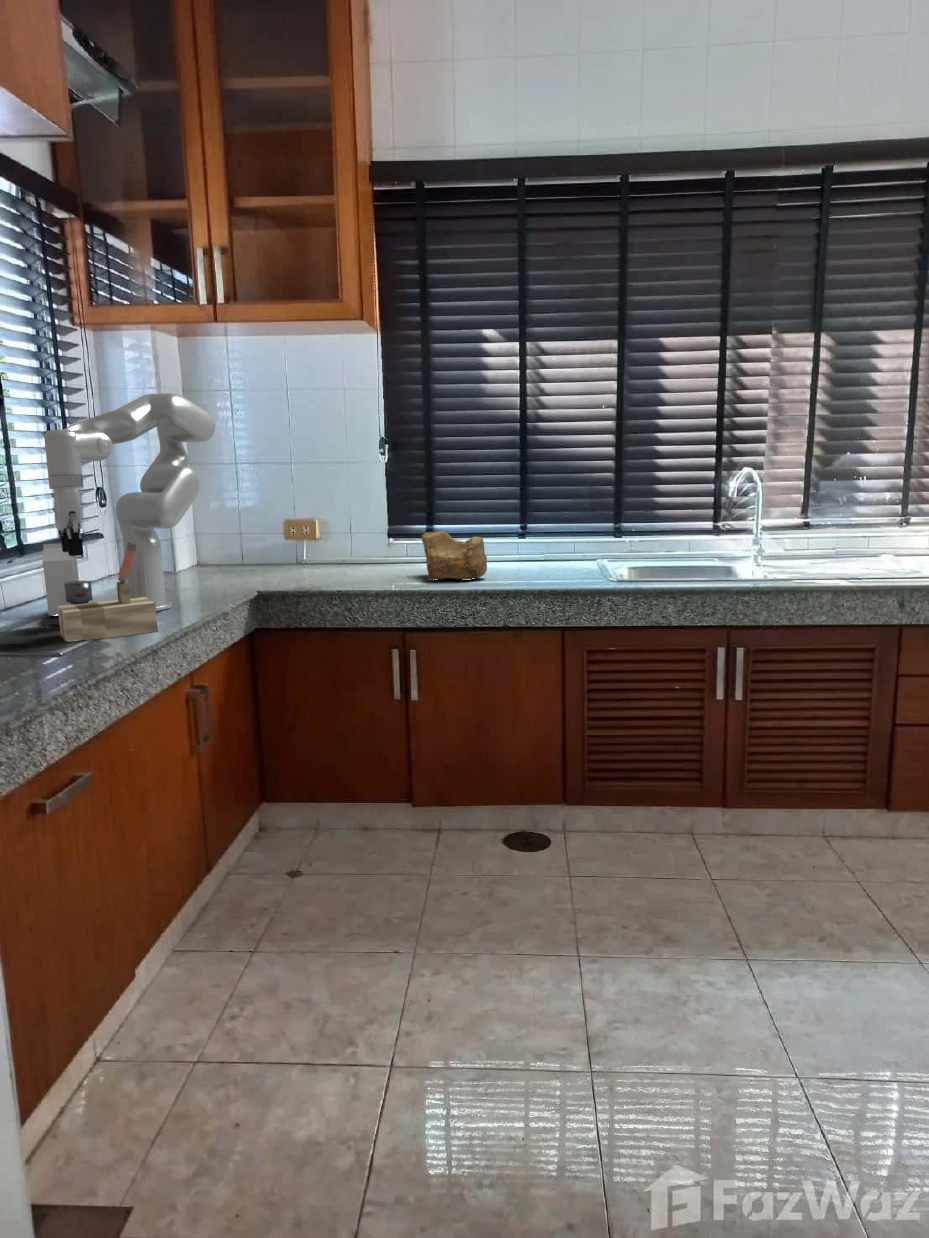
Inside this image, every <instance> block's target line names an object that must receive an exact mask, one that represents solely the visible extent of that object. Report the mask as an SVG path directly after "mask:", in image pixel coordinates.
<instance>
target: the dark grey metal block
mask: <svg viewBox="0 0 929 1238" xmlns="http://www.w3.org/2000/svg"><path fill="white" fill-rule="evenodd" d="M64 587H65V596H66V602H68V603H71V605H74V604H83V603H90V602H91V601H93V599H94V598H93V589H92V582H91V580H79V581H72V582H66V583H64Z"/></svg>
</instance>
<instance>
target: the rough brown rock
mask: <svg viewBox="0 0 929 1238" xmlns="http://www.w3.org/2000/svg"><path fill="white" fill-rule="evenodd" d="M421 542H422V544H423V548H424V554H425V558H426V562H425V563H426V569H427V574H428V580H429V579H431V580H433V579H434V580H435V579H441V580H444V579H456V580H459V579H472V578H477V579H479V578H478V577H480V578H481V577H483V576H484V575H485V574H486V573H487V571H488V564H487V561H488V560H487V559H488V557H487V555H486V553H485V542H484V538H483V537H480V536H472V537H471V538H469V539H467V540H466V541H462V540H456V539H454V538H453V537H452V536H451V535H450V534H449V533H448V532H447V531H443V530H439V531H438V530H437V531H434V532H432V531H429V532H425V533H423V534H422V536H421Z"/></svg>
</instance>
